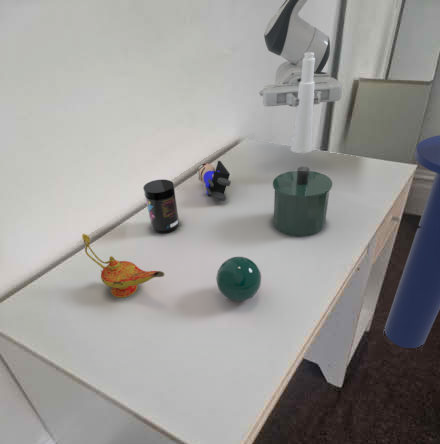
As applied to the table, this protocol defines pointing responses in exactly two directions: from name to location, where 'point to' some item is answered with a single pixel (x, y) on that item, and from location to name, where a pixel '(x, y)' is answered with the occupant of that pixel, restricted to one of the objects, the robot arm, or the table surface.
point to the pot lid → (302, 183)
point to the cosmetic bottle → (304, 108)
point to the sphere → (238, 279)
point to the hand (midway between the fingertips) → (307, 101)
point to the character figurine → (214, 180)
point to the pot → (300, 214)
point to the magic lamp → (121, 274)
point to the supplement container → (162, 205)
